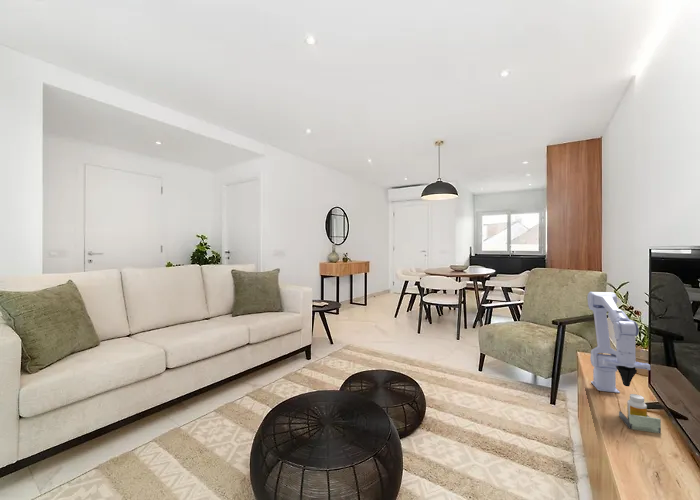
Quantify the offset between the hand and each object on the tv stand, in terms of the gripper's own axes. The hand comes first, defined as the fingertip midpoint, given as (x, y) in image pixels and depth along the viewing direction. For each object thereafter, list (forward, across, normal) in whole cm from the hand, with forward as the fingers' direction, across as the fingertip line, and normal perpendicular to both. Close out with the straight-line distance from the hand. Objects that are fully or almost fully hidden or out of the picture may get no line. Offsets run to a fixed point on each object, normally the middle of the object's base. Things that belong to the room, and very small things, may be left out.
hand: (626, 385), depth 125 cm
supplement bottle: (+10, 0, -8) cm, 13 cm away
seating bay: (+10, 0, -9) cm, 14 cm away
